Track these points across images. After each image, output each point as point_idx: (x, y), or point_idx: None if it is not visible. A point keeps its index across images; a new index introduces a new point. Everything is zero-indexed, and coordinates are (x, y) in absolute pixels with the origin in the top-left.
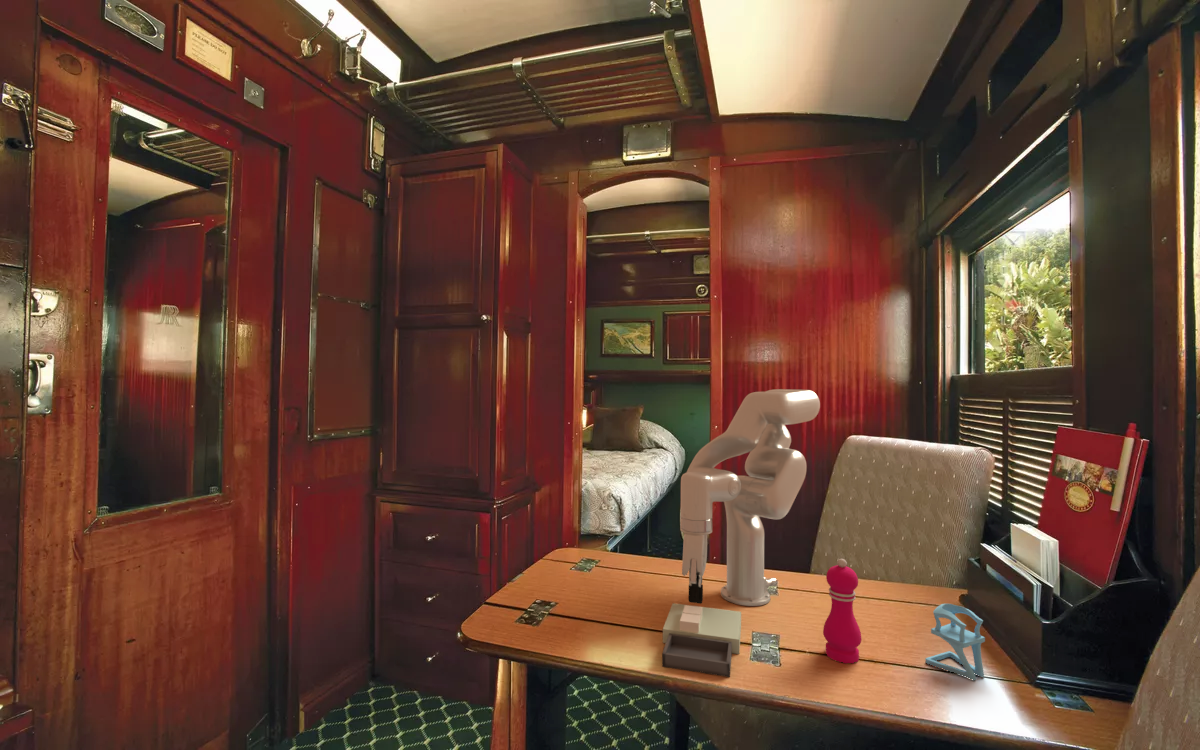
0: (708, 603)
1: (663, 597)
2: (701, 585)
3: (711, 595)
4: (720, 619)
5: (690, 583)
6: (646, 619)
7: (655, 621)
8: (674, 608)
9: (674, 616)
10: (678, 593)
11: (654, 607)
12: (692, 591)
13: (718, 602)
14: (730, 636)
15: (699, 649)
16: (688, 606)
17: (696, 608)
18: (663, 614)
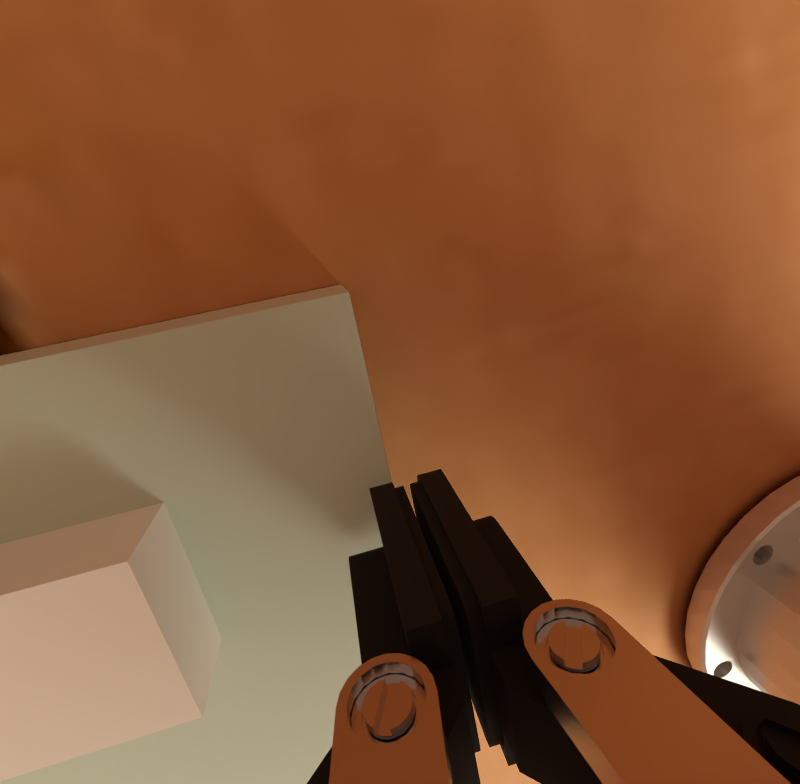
0: (664, 443)
1: (677, 60)
2: (505, 748)
3: (793, 414)
4: (246, 753)
5: (342, 757)
6: (115, 62)
7: (135, 175)
8: (225, 361)
9: (16, 441)
10: (785, 171)
11: (431, 47)
12: (358, 638)
13: (696, 490)
14: None
15: None
16: (115, 608)
17: (120, 692)
18: (326, 195)
